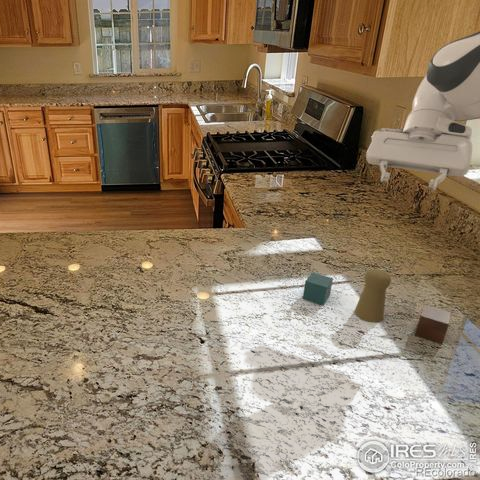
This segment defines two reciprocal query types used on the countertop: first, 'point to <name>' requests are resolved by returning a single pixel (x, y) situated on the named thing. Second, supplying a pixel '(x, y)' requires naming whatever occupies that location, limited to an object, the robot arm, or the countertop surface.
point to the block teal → (317, 288)
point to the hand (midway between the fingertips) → (407, 184)
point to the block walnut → (433, 324)
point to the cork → (373, 296)
